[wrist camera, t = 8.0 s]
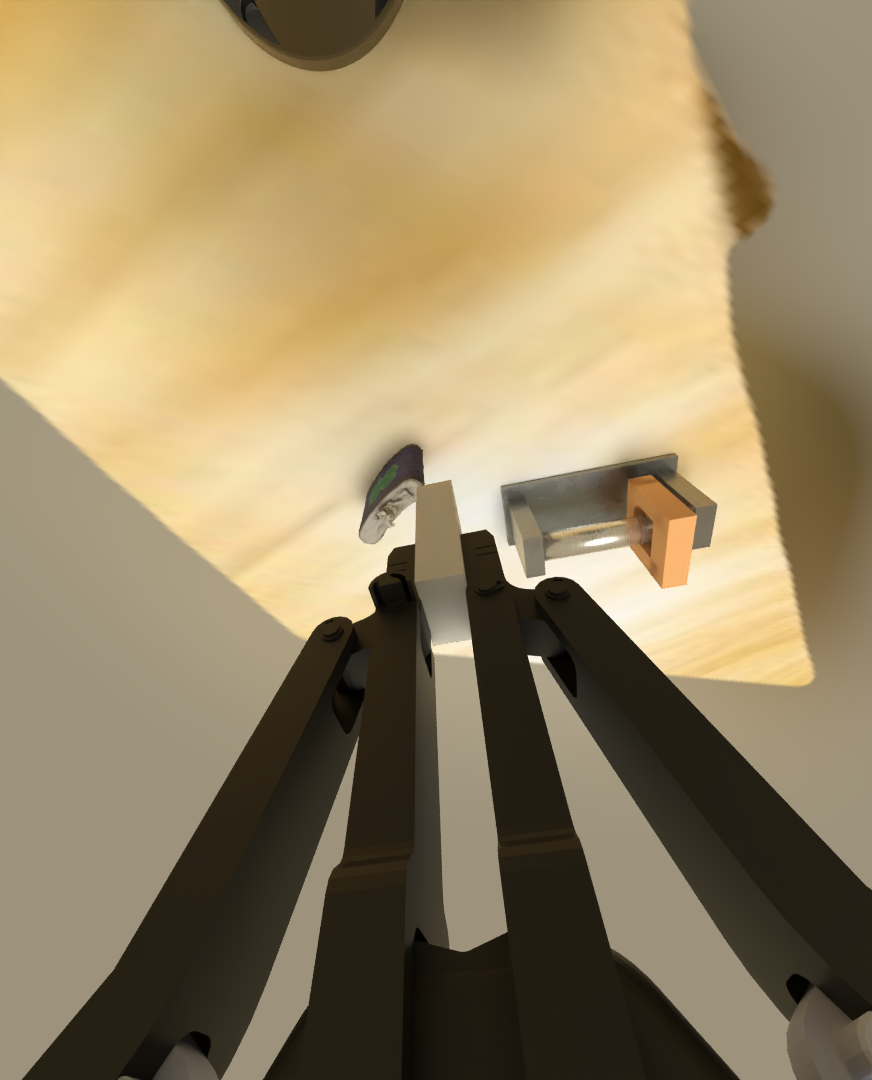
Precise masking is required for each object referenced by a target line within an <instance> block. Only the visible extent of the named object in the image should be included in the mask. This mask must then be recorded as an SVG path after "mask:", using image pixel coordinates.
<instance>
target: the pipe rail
mask: <svg viewBox="0 0 872 1080" xmlns="http://www.w3.org/2000/svg"><path fill="white" fill-rule="evenodd" d="M677 461H678V456H677V455H676V454H675V453H674V454H669V455H664V456H658V457H653V458H648V459H643V460H637V461H632V462H627V463H622V464H617V465H611V466H606V467H601V468H596V469H590V470H585V471H580V472H575V473H569V474H564V475H559V476H554V477H548V478H543V479H538V480H533V481H527V482H522V483H517V484H512V485H506V486H501V491H502V499H503V507H504V515H505V522H506V530H507V538H508V544H509V546H511V545H515V546H516V549H517V551H518V554H519V557H520V560H521V563H522V566H523V569H524V572H525V575H526V577H527V578H530V577H536V576H542V575H545V562H544V561H548V560H554V559H559V558H565V557H571V556H577V555H582V554H588V553H594V552H599V551H605V550H611V549H616V548H622V547H628V546H634V545H639V544H645V543H651V542H652V535H653V523H654V522H653V521H652V520H651V519H650V517H649V516H648V515H647V514H644V515H638V516H633V517H627V518H626V516H627V495H628V479H632V478H637V477H642V476H648V475H652V476H653V477H654V478H655V479H656V480H657V481H659V482H660V483H661V484H662V485H663V486H664V487H665V488H666V489H668V490H669V491H670V492H671V493H672V494H673V495H674V496H676V497H677V498H678V499H679V500H680V501H681V502H682V503H684V504H685V505H686V506H687V507H688V508H689V509H690V510H692V511H693V512H694V513H695V514H696V515H697V519H696V526H695V532H694V539H693V546H692V549H698V548H704V547H710V543H711V537H712V532H713V526H714V521H715V515H716V509H717V504H716V503H715V502H714V501H712V500H711V499H710V498H709V497H707V496H706V495H705V494H704V493H702V492H701V491H700V490H698V489H697V488H696V487H695V486H693V485H692V484H691V483H689V482H688V481H687V480H686V479H684V478H683V477H682V476H680V475H679V474H678V473H677V472H676V470H677Z"/></svg>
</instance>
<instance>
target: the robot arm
mask: <svg viewBox="0 0 872 1080" xmlns="http://www.w3.org/2000/svg"><path fill="white" fill-rule="evenodd" d="M220 1H221V2H222V4H223V5H224V7H225V8H226V9H227V11H228V12H229V13H230V15H231V16H232V18H233V19H234V20H235V21H236V23H237V24H238V25H239V26H240V27H241V29H242V30H243V31H244V32H245V33H246V34H247V35H248V36H249V37H250V38H251V39H252V40H253V41H254V42H255V43H256V44H257V45H259V46H260V47H261V48H262V49H264V50H265V51H266V52H268V53H269V54H270V55H272V56H274V57H275V58H277V59H279V60H281V61H283V62H284V63H287V64H289V65H292V66H294V67H298V68H301V69H306V70H313V71H327V70H334V69H338V68H341V67H344V66H347V65H349V64H351V63H353V62H355V61H357V60H358V59H360V58H361V57H363V56H364V55H365V54H367V53H368V52H369V51H370V50H371V49H372V48H373V47H374V46H375V45H376V44H377V43H378V42H379V41H380V40H381V38H382V37H383V36H384V35H385V33H386V32H387V30H388V29H389V27H390V26H391V24H392V22H393V21H394V19H395V17H396V15H397V13H398V11H399V9H400V6H401V4H402V2H403V0H220ZM368 589H369V591H370V594H371V597H372V599H373V602H374V605H375V607H376V610H375V613H373V614H372V615H371V616H369V617H367V618H365V619H363V620H360V621H358V622H356V623H352V621H351V620H349V619H348V618H346V617H334V618H330V619H328V620H326V621H324V622H322V623H321V624H320V625H318V626H317V627H316V628H315V630H314V631H313V632H312V634H311V636H310V637H309V639H308V641H307V642H306V644H305V646H304V648H303V649H302V651H301V653H300V655H299V656H298V658H297V659H296V661H295V663H294V665H293V666H292V668H291V670H290V671H289V673H288V675H287V676H286V678H285V680H284V682H283V683H282V685H281V687H280V688H279V690H278V692H277V693H276V695H275V697H274V699H273V700H272V702H271V704H270V705H269V707H268V709H267V710H266V712H265V714H264V716H263V717H262V719H261V721H260V722H259V724H258V726H257V727H256V729H255V731H254V733H253V734H252V736H251V738H250V739H249V741H248V743H247V744H246V746H245V748H244V750H243V751H242V753H241V755H240V756H239V758H238V760H237V761H236V763H235V765H234V767H233V768H232V770H231V772H230V773H229V775H228V777H227V778H226V780H225V782H224V784H223V785H222V787H221V789H220V790H219V792H218V794H217V795H216V797H215V799H214V801H213V802H212V804H211V806H210V807H209V809H208V811H207V813H206V814H205V816H204V818H203V819H202V821H201V823H200V824H199V826H198V828H197V829H196V831H195V833H194V835H193V836H192V838H191V840H190V841H189V843H188V845H187V846H186V848H185V850H184V852H183V853H182V855H181V857H180V858H179V860H178V862H177V863H176V865H175V867H174V869H173V870H172V872H171V874H170V875H169V877H168V879H167V881H166V882H165V884H164V886H163V887H162V889H161V891H160V892H159V894H158V896H157V897H156V899H155V901H154V902H153V904H152V906H151V908H150V909H149V911H148V913H147V914H146V916H145V918H144V919H143V921H142V923H141V925H140V926H139V928H138V930H137V931H136V933H135V935H134V936H133V938H132V940H131V942H130V943H129V945H128V947H127V948H126V950H125V952H124V954H123V955H122V957H121V959H120V960H119V962H118V964H117V965H116V967H115V969H114V970H113V972H112V973H111V974H110V975H109V976H108V977H107V979H106V980H105V981H104V982H103V983H102V985H101V986H100V987H99V988H98V989H97V991H96V992H95V993H94V994H93V995H92V996H91V998H90V999H89V1000H88V1001H87V1003H86V1004H85V1005H84V1006H83V1007H82V1008H81V1010H80V1011H79V1012H78V1013H77V1014H76V1016H75V1017H74V1018H73V1019H72V1020H71V1022H70V1023H69V1024H68V1025H67V1026H66V1028H65V1029H64V1030H63V1032H61V1034H60V1035H59V1036H58V1037H57V1038H56V1040H55V1041H54V1042H53V1043H52V1044H51V1045H50V1047H49V1048H48V1049H47V1050H46V1051H45V1053H44V1054H43V1055H42V1056H41V1057H40V1059H39V1060H38V1061H37V1062H36V1063H35V1065H34V1066H33V1067H32V1068H31V1069H30V1071H29V1072H28V1073H27V1074H26V1075H25V1077H24V1078H23V1079H22V1080H221V1079H222V1077H223V1075H224V1073H225V1072H226V1070H227V1068H228V1066H229V1065H230V1063H231V1061H232V1059H233V1057H234V1055H235V1053H236V1051H237V1049H238V1047H239V1045H240V1043H241V1041H242V1039H243V1036H244V1034H245V1032H246V1030H247V1028H248V1026H249V1024H250V1022H251V1020H252V1017H253V1015H254V1012H255V1010H256V1007H257V1005H258V1002H259V1000H260V997H261V995H262V993H263V990H264V988H265V986H266V983H267V980H268V978H269V975H270V972H271V970H272V967H273V964H274V961H275V959H276V956H277V953H278V951H279V948H280V945H281V943H282V940H283V937H284V934H285V932H286V929H287V926H288V924H289V921H290V919H291V916H292V913H293V911H294V908H295V905H296V902H297V900H298V897H299V894H300V892H301V889H302V886H303V884H304V881H305V878H306V876H307V873H308V870H309V868H310V865H311V862H312V860H313V856H314V854H315V851H316V849H317V846H318V843H319V841H320V838H321V835H322V833H323V830H324V827H325V824H326V822H327V819H328V817H329V814H330V811H331V809H332V806H333V803H334V800H335V798H336V795H337V792H338V790H339V787H340V784H341V782H342V779H343V776H344V774H345V771H346V768H347V766H348V762H349V760H350V758H351V755H352V752H353V750H354V747H355V744H356V741H357V739H358V736H359V740H358V748H357V756H356V763H355V771H354V778H353V786H352V794H351V802H350V810H349V817H348V825H347V832H346V840H345V847H344V853H343V858H342V860H341V862H340V864H339V865H337V866H336V867H335V868H334V869H333V870H332V873H331V875H330V877H329V880H328V885H327V889H326V894H325V900H324V907H323V914H322V921H321V927H320V934H319V940H318V947H317V953H316V960H315V967H314V973H313V980H312V986H311V993H310V1000H309V1006H308V1007H307V1009H306V1010H305V1011H304V1013H303V1014H302V1016H301V1017H300V1019H299V1021H298V1022H297V1024H296V1025H295V1027H294V1029H293V1030H292V1032H291V1034H290V1035H289V1037H288V1039H287V1040H286V1042H285V1044H284V1046H283V1047H282V1049H281V1050H280V1052H279V1054H278V1056H277V1057H276V1059H275V1060H274V1062H273V1064H272V1065H271V1067H270V1069H269V1070H268V1072H267V1074H266V1076H265V1078H264V1079H263V1080H740V1079H739V1078H738V1076H737V1075H736V1074H735V1073H734V1072H733V1071H732V1070H731V1069H730V1068H729V1066H728V1065H727V1064H726V1063H725V1062H724V1061H723V1060H722V1059H721V1057H720V1056H719V1055H718V1054H717V1053H716V1052H715V1051H714V1050H713V1048H712V1047H711V1046H710V1045H709V1044H708V1043H707V1042H706V1041H705V1040H704V1038H703V1037H702V1036H701V1035H700V1034H699V1033H698V1032H697V1031H696V1029H695V1028H694V1027H693V1026H692V1025H691V1024H690V1023H689V1022H688V1020H687V1019H686V1018H685V1017H684V1016H683V1015H682V1014H681V1013H680V1011H679V1010H678V1009H677V1008H676V1007H675V1006H674V1005H673V1004H672V1003H671V1001H670V1000H669V999H668V998H667V997H666V996H665V995H664V994H663V992H662V991H661V990H660V989H659V988H658V987H657V986H656V985H655V984H654V983H653V982H652V981H651V979H650V978H649V977H648V976H646V975H645V974H644V973H643V972H642V971H641V970H640V969H639V968H638V967H637V966H635V965H634V964H633V963H632V962H631V961H629V960H628V959H626V958H625V957H624V956H622V955H621V954H620V953H618V952H616V951H614V950H613V949H611V948H610V945H609V941H608V938H607V935H606V930H605V927H604V923H603V920H602V916H601V912H600V909H599V905H598V901H597V898H596V895H595V891H594V887H593V884H592V880H591V877H590V873H589V869H588V865H587V862H586V858H585V855H584V851H583V848H582V845H581V842H580V840H579V837H578V836H577V834H576V832H575V829H574V826H573V822H572V819H571V815H570V812H569V808H568V804H567V800H566V797H565V793H564V789H563V786H562V782H561V778H560V775H559V771H558V767H557V763H556V760H555V756H554V752H553V749H552V745H551V741H550V737H549V734H548V730H547V726H546V723H545V719H544V715H543V712H542V708H541V704H540V700H539V697H538V693H537V689H536V686H535V682H534V679H533V675H532V671H531V667H530V663H529V660H528V656H527V655H532V656H541V657H542V660H543V662H544V663H545V665H546V666H547V668H548V670H549V671H550V673H551V674H552V676H553V677H554V679H555V680H556V682H557V683H558V685H559V686H560V688H561V689H562V691H563V692H564V694H565V696H566V697H567V698H568V700H569V702H570V703H571V705H572V706H573V708H574V709H575V711H576V712H577V714H578V715H579V717H580V718H581V720H582V721H583V723H584V725H585V726H586V727H587V729H588V731H589V732H590V733H591V735H592V737H593V738H594V740H595V741H596V743H597V744H598V746H599V747H600V749H601V751H602V752H603V754H604V755H605V757H606V758H607V760H608V761H609V763H610V764H611V766H612V767H613V769H614V770H615V772H616V773H617V775H618V777H619V778H620V779H621V781H622V783H623V784H624V786H625V787H626V789H627V790H628V792H629V793H630V795H631V796H632V798H633V799H634V801H635V802H636V804H637V805H638V807H639V808H640V810H641V811H642V813H643V815H644V816H645V818H646V819H647V821H648V822H649V824H650V825H651V827H652V828H653V830H654V831H655V833H656V834H657V836H658V837H659V839H660V841H661V842H662V844H663V845H664V847H665V848H666V850H667V851H668V853H669V854H670V856H671V857H672V859H673V861H674V862H675V864H676V865H677V867H678V868H679V870H680V871H681V873H682V874H683V876H684V877H685V879H686V880H687V882H688V883H689V885H690V886H691V888H692V890H693V891H694V893H695V894H696V896H697V897H698V899H699V900H700V902H701V903H702V905H703V906H704V908H705V909H706V911H707V912H708V914H709V915H710V917H711V919H712V920H713V922H714V923H715V925H716V926H717V928H718V929H719V931H720V932H721V934H722V935H723V937H724V938H725V940H726V941H727V943H728V944H729V945H730V947H731V948H732V950H733V951H734V952H735V954H736V955H737V957H738V958H739V960H740V961H741V962H742V964H743V965H744V967H745V968H746V970H747V971H748V972H749V973H750V975H751V976H752V978H753V979H754V980H755V981H756V982H757V984H758V985H759V986H760V987H761V989H762V990H763V991H764V992H765V993H766V995H767V996H768V997H769V998H770V1000H771V1001H772V1002H773V1003H774V1004H775V1006H776V1007H777V1008H778V1009H779V1010H780V1012H781V1013H782V1014H783V1015H784V1016H785V1017H786V1019H788V1021H789V1022H790V1023H789V1027H788V1031H787V1051H788V1054H789V1058H790V1062H791V1065H792V1069H793V1072H794V1074H795V1076H796V1078H797V1080H872V890H871V889H870V888H868V887H867V886H866V885H865V884H864V883H863V882H862V881H861V880H860V879H859V878H858V877H857V876H856V875H855V874H854V873H853V872H852V871H851V870H850V869H849V867H848V866H847V865H846V864H845V863H844V862H843V861H842V860H841V859H840V858H839V857H838V856H837V855H836V854H835V853H834V852H833V851H832V850H831V849H830V848H829V846H828V845H827V844H826V843H825V842H824V841H823V840H822V839H821V838H820V837H819V836H818V835H817V834H816V833H815V832H814V831H813V830H812V829H811V828H810V827H809V826H808V824H806V822H805V821H804V820H803V819H802V818H801V817H800V816H799V815H798V814H797V813H796V812H795V811H794V810H793V809H792V808H791V807H790V806H789V805H788V803H787V802H786V801H785V800H784V799H783V798H782V797H781V796H780V795H779V794H778V793H777V792H776V791H775V790H774V789H773V788H772V787H771V786H770V785H769V784H768V783H767V781H765V779H764V778H763V777H762V776H761V775H760V774H759V773H758V772H757V771H756V770H755V769H754V768H753V767H752V766H751V765H750V764H749V763H748V762H747V761H746V759H745V758H744V757H743V756H742V755H741V754H740V753H739V752H738V751H737V750H736V749H735V748H734V747H733V746H732V745H731V744H730V743H729V742H728V741H727V740H726V738H724V736H723V735H722V734H721V733H720V732H719V731H718V730H717V729H716V728H715V727H714V726H713V725H712V724H711V723H710V722H709V721H708V720H707V719H706V718H705V716H704V715H703V714H702V713H701V712H700V711H699V710H698V709H697V708H696V707H695V706H694V705H693V704H692V703H691V702H690V701H689V700H688V699H687V698H686V697H685V695H683V694H682V692H681V691H680V690H679V689H678V688H677V687H676V686H675V685H674V684H673V683H672V682H671V681H670V680H669V679H668V678H667V677H666V676H665V675H664V673H663V672H662V671H661V670H660V669H659V668H658V667H657V666H656V665H655V664H654V663H653V662H652V661H651V660H650V659H649V658H648V657H647V656H646V655H645V654H644V653H643V651H642V650H641V649H640V648H639V647H638V646H637V645H636V644H635V643H634V642H633V641H632V640H631V639H630V638H629V637H628V636H627V635H626V634H625V633H624V632H623V630H622V629H621V628H620V627H619V626H618V625H617V624H616V623H615V622H614V621H613V620H612V619H611V618H610V617H609V616H608V615H607V614H606V613H605V612H604V611H603V610H602V608H601V607H600V606H599V605H598V604H597V603H596V602H595V601H594V600H593V599H592V598H591V597H590V596H589V595H588V594H587V593H586V592H585V591H584V590H583V589H582V587H581V586H580V585H579V584H577V583H576V582H575V581H573V580H571V579H568V578H564V577H553V578H548V579H545V580H543V581H541V582H540V583H539V584H538V585H537V586H536V587H535V590H534V589H522V588H518V587H515V586H513V585H511V584H509V583H508V582H507V581H506V579H505V577H504V573H503V570H502V566H501V562H500V558H499V555H498V551H497V547H496V544H495V540H494V536H493V535H492V534H491V533H489V532H488V531H487V530H482V531H476V532H471V533H466V534H462V531H461V526H460V521H459V516H458V512H457V507H456V502H455V497H454V492H453V487H452V482H451V480H448V481H443V482H438V483H433V484H428V485H423V486H418V487H417V492H416V536H415V544H413V545H407V546H402V547H397V548H394V549H393V551H392V552H391V553H390V555H389V556H388V563H387V571H386V573H383V574H381V575H379V576H378V577H376V578H375V579H374V580H373V581H372V582H371V583H370V585H369V588H368ZM470 639H472V645H473V653H474V660H475V668H476V675H477V683H478V690H479V698H480V706H481V713H482V721H483V728H484V736H485V744H486V751H487V759H488V767H489V774H490V781H491V788H492V797H493V804H494V811H495V819H496V827H497V835H498V858H499V867H500V875H501V883H502V891H503V899H504V907H505V914H506V922H507V930H508V932H507V933H505V934H503V935H501V936H499V937H496V938H495V939H492V940H490V941H488V942H486V943H484V944H482V945H480V946H478V947H476V948H474V949H472V950H470V951H466V952H459V951H455V950H450V949H449V939H448V931H447V925H446V919H445V914H444V905H443V887H442V861H441V832H440V804H439V776H438V750H437V721H436V695H435V666H434V656H433V653H432V649H431V640H432V643H433V646H434V645H440V644H446V643H452V642H458V641H464V640H470Z"/></svg>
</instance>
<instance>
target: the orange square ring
mask: <svg viewBox="0 0 872 1080" xmlns="http://www.w3.org/2000/svg"><path fill="white" fill-rule="evenodd" d="M644 514H647V515H648V516H649V517H650V519H651V520H652V521H653V522H654V523H653V535H652V542H651V543H645V544H639V545H634V546H630V547H631V549H632V550H633V551H634V553H635V554H636V555H637V557H638V558H639V559H640V561H641V562H642V563H643V564H644V566H645V567H646V568H647V570H648V571H649V572H650V574H651V575H652V576H653V578H654V579H655V580H656V582H657V583H658V584H659V585H660V587H661V588H662V589H663V588H669V587H675V586H681V585H687V579H688V572H689V566H690V559H691V552H692V546H693V539H694V532H695V526H696V519H697V515H696V514H695V513H694V512H693V511H692V510H690V509H689V508H688V507H687V506H686V505H685V504H684V503H682V502H681V501H680V500H679V499H678V498H677V497H676V496H674V495H673V494H672V493H671V492H670V491H669V490H668V489H666V488H665V487H664V486H663V485H662V484H661V483H660V482H659V481H657V480H656V479H655V478H654V477H653V476H652V475H648V476H642V477H637V478H632V479H628V495H627V516H626V518H627V517H633V516H638V515H644Z"/></svg>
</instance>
